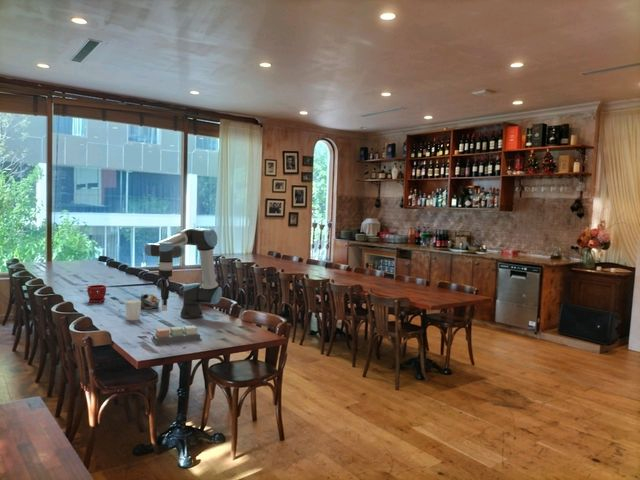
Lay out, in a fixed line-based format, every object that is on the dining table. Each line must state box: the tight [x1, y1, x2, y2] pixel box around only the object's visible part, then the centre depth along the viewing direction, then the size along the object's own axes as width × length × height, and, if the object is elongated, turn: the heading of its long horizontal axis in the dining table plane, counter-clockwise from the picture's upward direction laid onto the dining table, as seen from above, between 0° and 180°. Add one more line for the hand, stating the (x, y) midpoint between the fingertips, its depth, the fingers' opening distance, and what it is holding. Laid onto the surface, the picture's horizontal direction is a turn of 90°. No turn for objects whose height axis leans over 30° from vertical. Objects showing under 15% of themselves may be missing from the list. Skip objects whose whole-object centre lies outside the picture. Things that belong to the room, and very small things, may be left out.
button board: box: [151, 331, 202, 346], centre depth 285 cm, size 12×26×3 cm, turn 121°
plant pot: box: [86, 284, 107, 303], centre depth 376 cm, size 13×13×12 cm
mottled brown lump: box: [139, 293, 161, 310], centre depth 362 cm, size 15×12×14 cm
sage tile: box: [169, 326, 184, 336], centre depth 284 cm, size 6×6×4 cm
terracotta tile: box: [155, 327, 170, 338], centre depth 280 cm, size 6×6×4 cm
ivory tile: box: [183, 325, 198, 335], centre depth 289 cm, size 6×6×4 cm
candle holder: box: [125, 299, 142, 321], centre depth 328 cm, size 10×10×12 cm
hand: (164, 310), depth 280 cm, fingers closed
